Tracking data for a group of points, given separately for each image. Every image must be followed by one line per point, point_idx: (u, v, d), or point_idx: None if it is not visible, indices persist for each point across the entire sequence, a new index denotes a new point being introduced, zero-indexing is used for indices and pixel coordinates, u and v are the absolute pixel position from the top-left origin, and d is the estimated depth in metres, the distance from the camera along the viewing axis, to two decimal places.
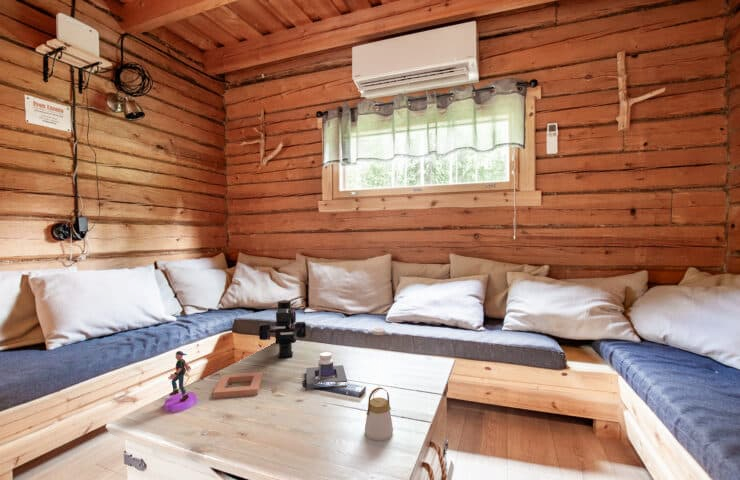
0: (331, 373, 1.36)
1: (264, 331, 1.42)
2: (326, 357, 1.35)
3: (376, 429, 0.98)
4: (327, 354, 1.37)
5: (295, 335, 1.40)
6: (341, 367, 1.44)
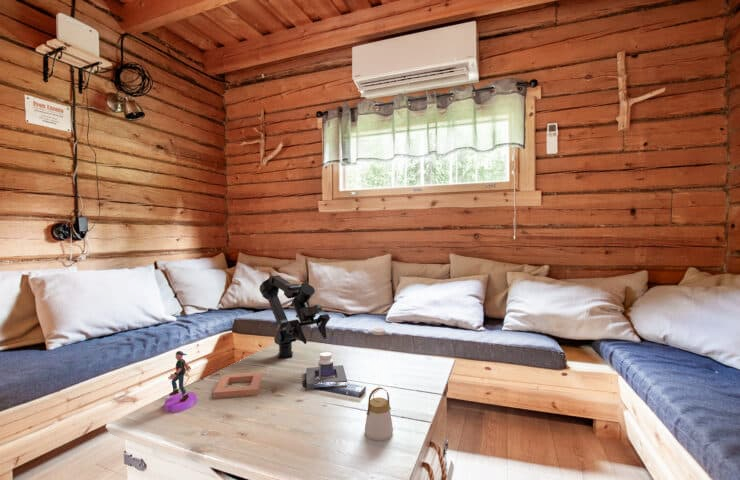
0: (331, 373, 1.36)
1: (295, 329, 1.41)
2: (326, 357, 1.35)
3: (376, 429, 0.98)
4: (327, 354, 1.37)
5: None
6: (341, 367, 1.44)
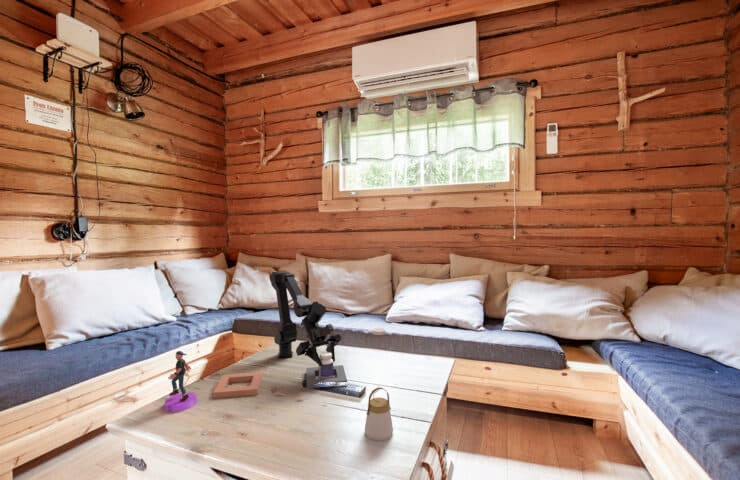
0: (331, 373, 1.36)
1: (309, 351, 1.36)
2: (326, 357, 1.35)
3: (376, 429, 0.98)
4: (327, 354, 1.37)
5: None
6: (341, 367, 1.44)
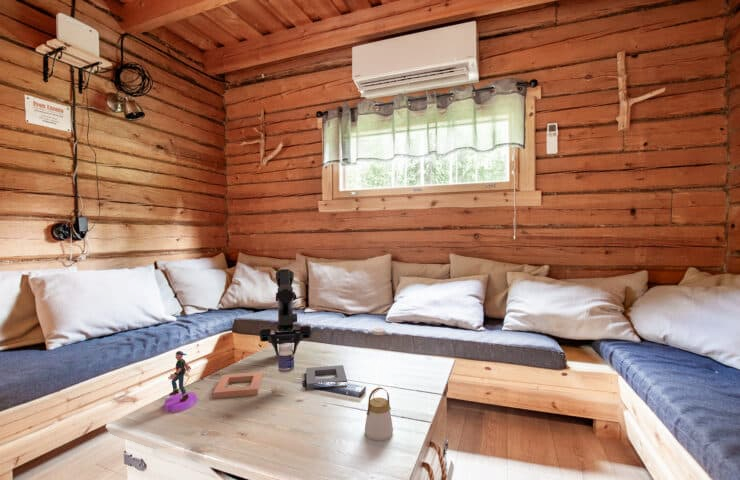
0: (288, 366, 1.28)
1: (270, 338, 1.31)
2: (282, 348, 1.28)
3: (376, 429, 0.98)
4: (286, 345, 1.29)
5: None
6: (341, 367, 1.44)
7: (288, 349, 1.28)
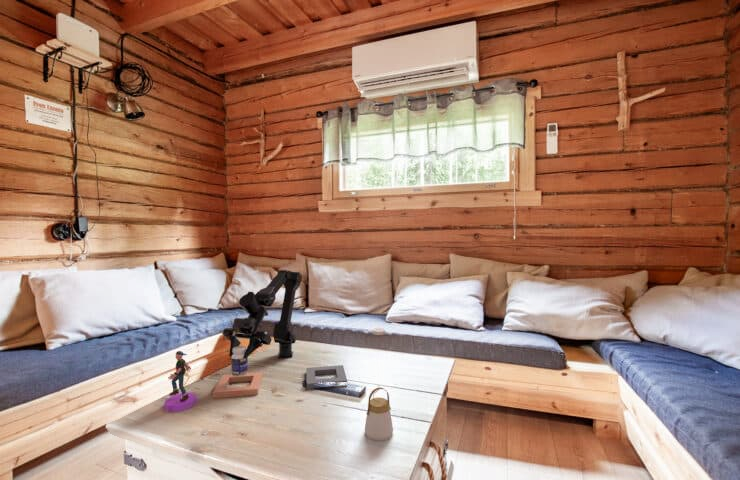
0: (236, 369, 1.28)
1: None
2: (233, 351, 1.29)
3: (376, 429, 0.98)
4: (238, 348, 1.29)
5: (248, 354, 1.29)
6: (341, 367, 1.44)
7: (238, 353, 1.28)
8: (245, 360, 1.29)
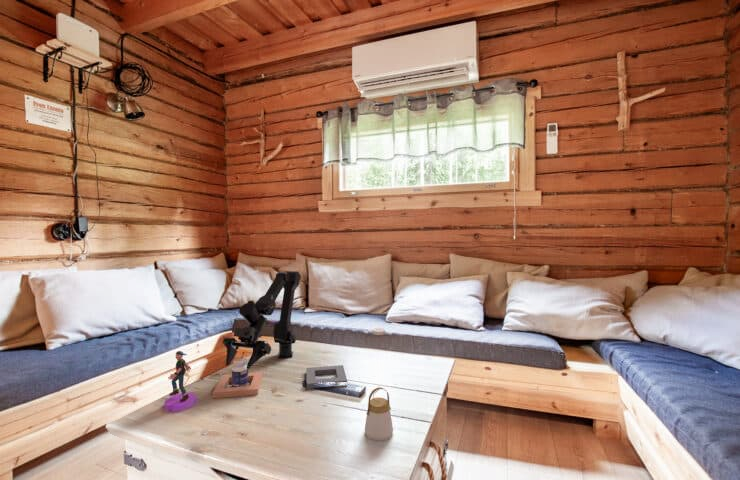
0: (237, 382, 1.28)
1: None
2: (233, 363, 1.29)
3: (376, 429, 0.98)
4: (238, 361, 1.30)
5: (251, 364, 1.29)
6: (341, 367, 1.44)
7: (238, 366, 1.28)
8: (245, 373, 1.30)
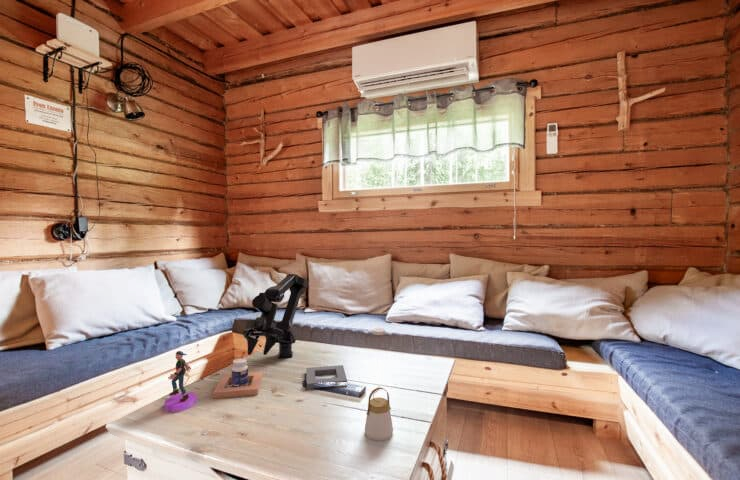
0: (237, 382, 1.28)
1: None
2: (233, 363, 1.29)
3: (376, 429, 0.98)
4: (238, 361, 1.30)
5: (267, 350, 1.37)
6: (341, 367, 1.44)
7: (238, 366, 1.28)
8: (245, 373, 1.30)
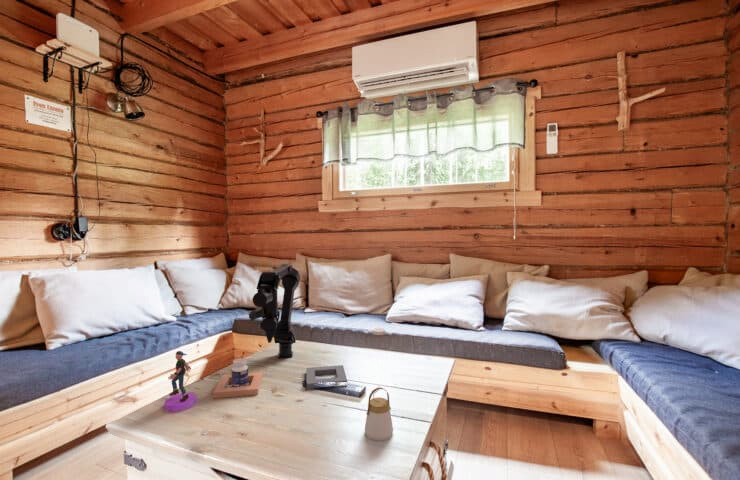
0: (237, 382, 1.28)
1: None
2: (233, 363, 1.29)
3: (376, 429, 0.98)
4: (238, 361, 1.30)
5: (270, 338, 1.41)
6: (341, 367, 1.44)
7: (238, 366, 1.28)
8: (245, 373, 1.30)
